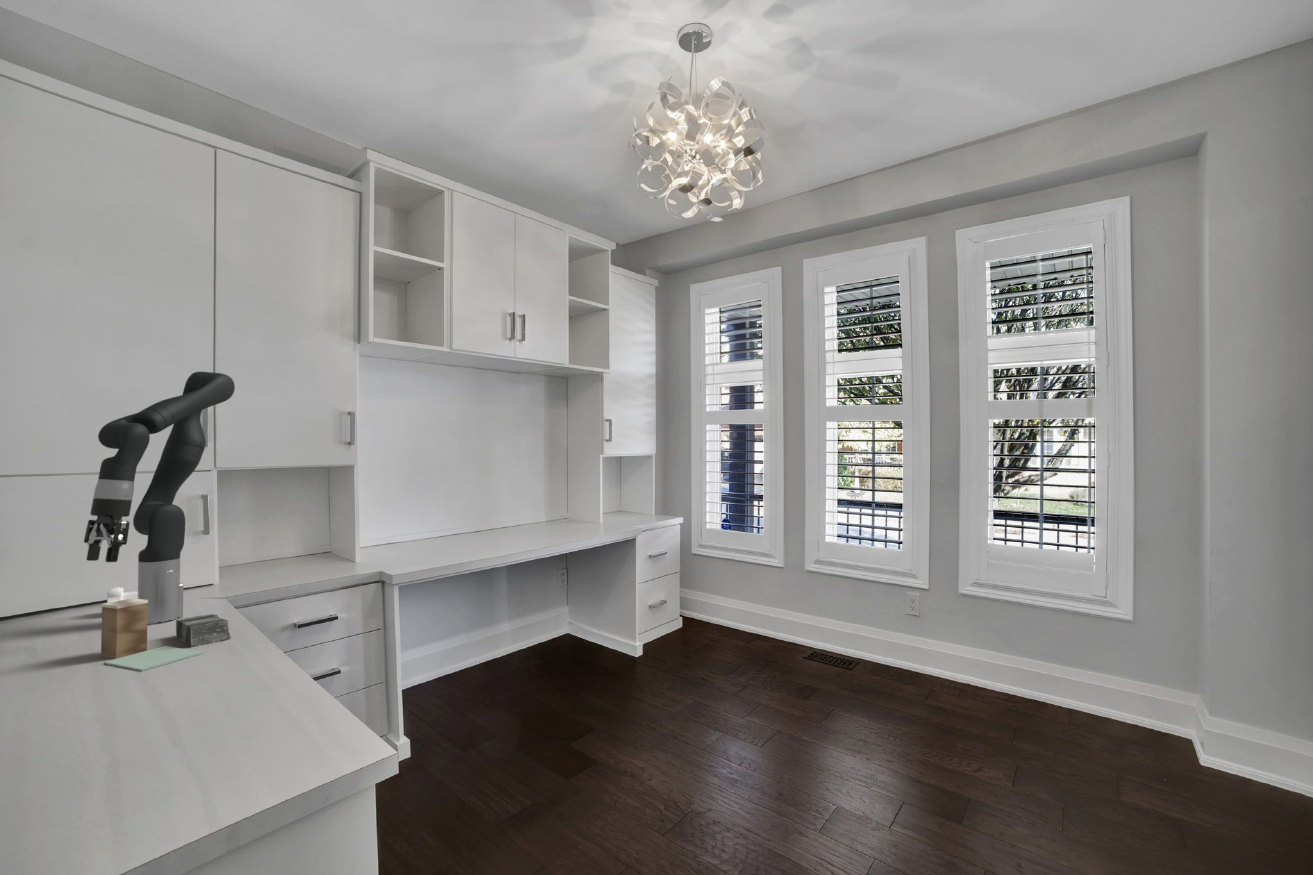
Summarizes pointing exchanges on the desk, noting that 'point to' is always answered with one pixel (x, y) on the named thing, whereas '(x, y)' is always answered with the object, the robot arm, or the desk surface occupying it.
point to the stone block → (202, 630)
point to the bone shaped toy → (120, 595)
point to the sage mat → (152, 658)
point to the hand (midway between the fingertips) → (101, 561)
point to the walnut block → (124, 628)
